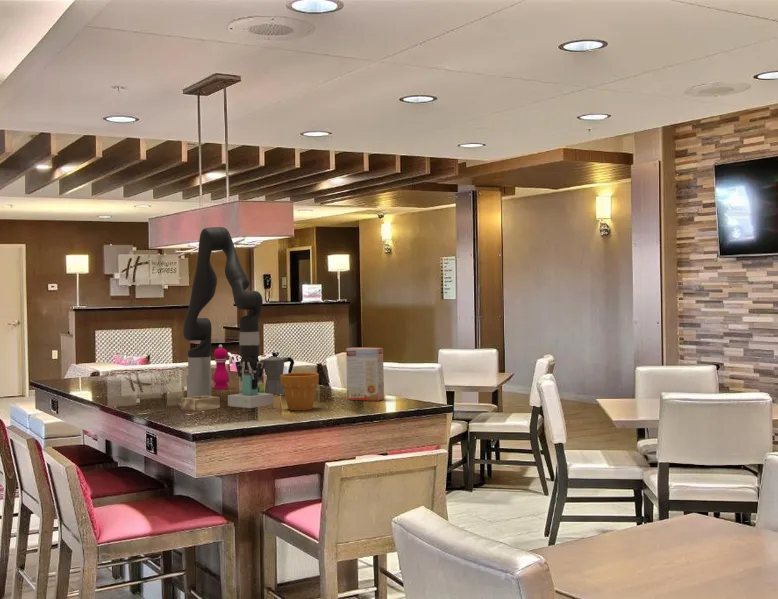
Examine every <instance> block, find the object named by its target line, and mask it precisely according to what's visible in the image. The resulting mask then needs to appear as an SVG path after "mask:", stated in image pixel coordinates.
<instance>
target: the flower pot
mask: <svg viewBox="0 0 778 599" xmlns="http://www.w3.org/2000/svg"><path fill="white" fill-rule="evenodd" d="M319 375H320V374H319V373H318V372H291V373H288V372H287V373H283V374H282V375H281V385H282V386H283V388H284V392H285V395H284V396H285V400H286V404H287V408H288V410H289V409H290V410H289V411H293V410H303V411H310V410H312V409H313V406H314V401H315V396H316V391H317V386H318V385H319V383H320V382H319V381H320V376H319Z"/></svg>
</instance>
